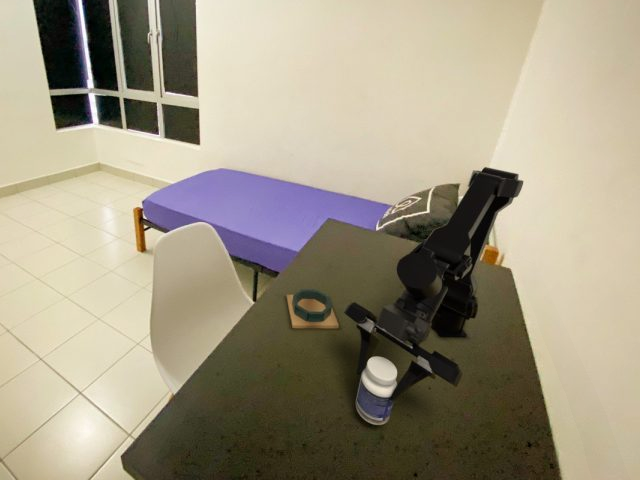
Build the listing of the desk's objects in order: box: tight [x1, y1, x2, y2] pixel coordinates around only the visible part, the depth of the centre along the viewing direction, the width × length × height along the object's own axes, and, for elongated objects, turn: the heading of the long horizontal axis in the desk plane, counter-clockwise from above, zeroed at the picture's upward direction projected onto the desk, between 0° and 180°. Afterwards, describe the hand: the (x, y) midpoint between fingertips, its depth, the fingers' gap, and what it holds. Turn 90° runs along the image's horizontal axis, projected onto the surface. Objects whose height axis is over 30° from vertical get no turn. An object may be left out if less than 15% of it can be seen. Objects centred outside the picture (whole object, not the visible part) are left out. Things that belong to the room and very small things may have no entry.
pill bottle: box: [355, 355, 398, 426], centre depth 56 cm, size 6×6×10 cm
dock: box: [285, 288, 340, 329], centre depth 83 cm, size 11×11×4 cm
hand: (373, 387), depth 54 cm, fingers closed on pill bottle, 6 cm apart
